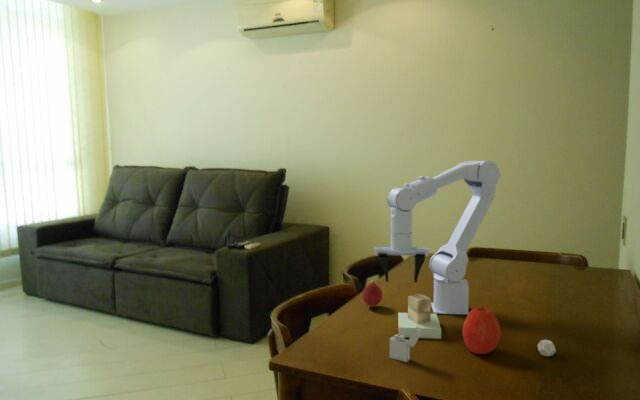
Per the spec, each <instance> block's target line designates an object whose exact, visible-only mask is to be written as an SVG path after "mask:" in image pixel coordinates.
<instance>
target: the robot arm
mask: <svg viewBox="0 0 640 400" xmlns="http://www.w3.org/2000/svg"><path fill="white" fill-rule="evenodd" d="M501 177H502V175H501V172H500V168H499V166H498V164H497V163H496V162H495V161H493V160H473V159H468V160H465V161H463V162H459V163H458V164H456V165H455V166H452V167H451V168H449V169H447V170H445V171H443V172H441V173H438V174H437V175H435V176H433V177H430V176H429V175H426V176H425V175H420V176H418V177H417V180H414V181H412V182H410V183H407V182H405V183H404V184H403V186H402V187H394V188H393V189H391V190H390V192H389V193H388V196H387V197H386V202H387V204H388V206H389V208H390V246H374V252H373V253H374V256H378V260H379V263H380V265H381V267H382V270H383V273H384V277H385V283H386V282H387V283H389V270H388V269H389V267H388V265H389V263H388V261H389V260H388V259H389V257H388V256H413V257H414V271H413V281H414V283H418V279H419V274H420V272H421V269H422V267H423V264H424V263H425V259H426V257H430V249H429V247H419V246H413V209H414V208H415V207H416V204H418V203H420V202H423V201H426V200H427V199H431V197H434V196H435V195H436V194H437V193H438V190H439V189H441V188H443V187H445V186H448V185H451V184H453V183H457V182H458V181H462V180H463V181H464V183H465V184H466V185H467V187H468V189H469V190H470V191H471V194H472V196H471V197H470V200H469V202H468V203H467V205H466V208H464V209H465V210H464V211H463V213H462V215H461V217H460V219H459V221H458V222H457V225H456V226H455V229H454V231H453V232H452V234H451V236H450V237H449V239H448V242H447V243H445V244H444V245H441V246H440V247H439V248H438V250H437V252H435V253H434V254H433V255H432V256H431V258H430V259H429V263H428V266H429V269H430V271H431V272H432V273H433V275H432V276H433V302H432V301H431V308H432V314H441V315H468V314H469V313H470V311H469V301H470V300H469V298H470V297H469V296H470V295H469V293H470V291H469V282H468V280H467V279H464V277H465V275H466V271H467V266H468V263H469V258H468V255H467V251H468V248H469V247H470V245H471V243H472V241H473V239H474V237H475V236H476V234H477V231H478V229H479V227H480V226H481V224H482V221H483V220H484V218H485V216H486V214H487V213H488V210H489V209H490V206H491V205H492V203H493V201H494V199H495V197H496V196H495V195H496V190H497V189H496V188H497V183H498V182H499V180H500V178H501Z"/></svg>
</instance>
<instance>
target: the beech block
mask: <svg viewBox="0 0 640 400" xmlns="http://www.w3.org/2000/svg"><path fill="white" fill-rule="evenodd" d="M431 299H432V298H431V297H429V296H427V295H425V294H422V293H417V294H413V295H408V296H407V313H408V319H410V320H411V321H413V322H415V323H417V324H420V323H424V322H429V321H430V314H431V308H432V306H431V302H432V300H431Z"/></svg>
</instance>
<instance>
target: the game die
mask: <svg viewBox="0 0 640 400" xmlns="http://www.w3.org/2000/svg"><path fill="white" fill-rule="evenodd" d="M537 349H538V351H539V353H540V355H541V356H544V357H547V356H548V357H552V356H554V354H555V353H556V352H557V350H556V347H555V344H554V343H553V341H552V340H548V339H547V338H546V339H542V340H540V341H539V342H538V343H537Z"/></svg>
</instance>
